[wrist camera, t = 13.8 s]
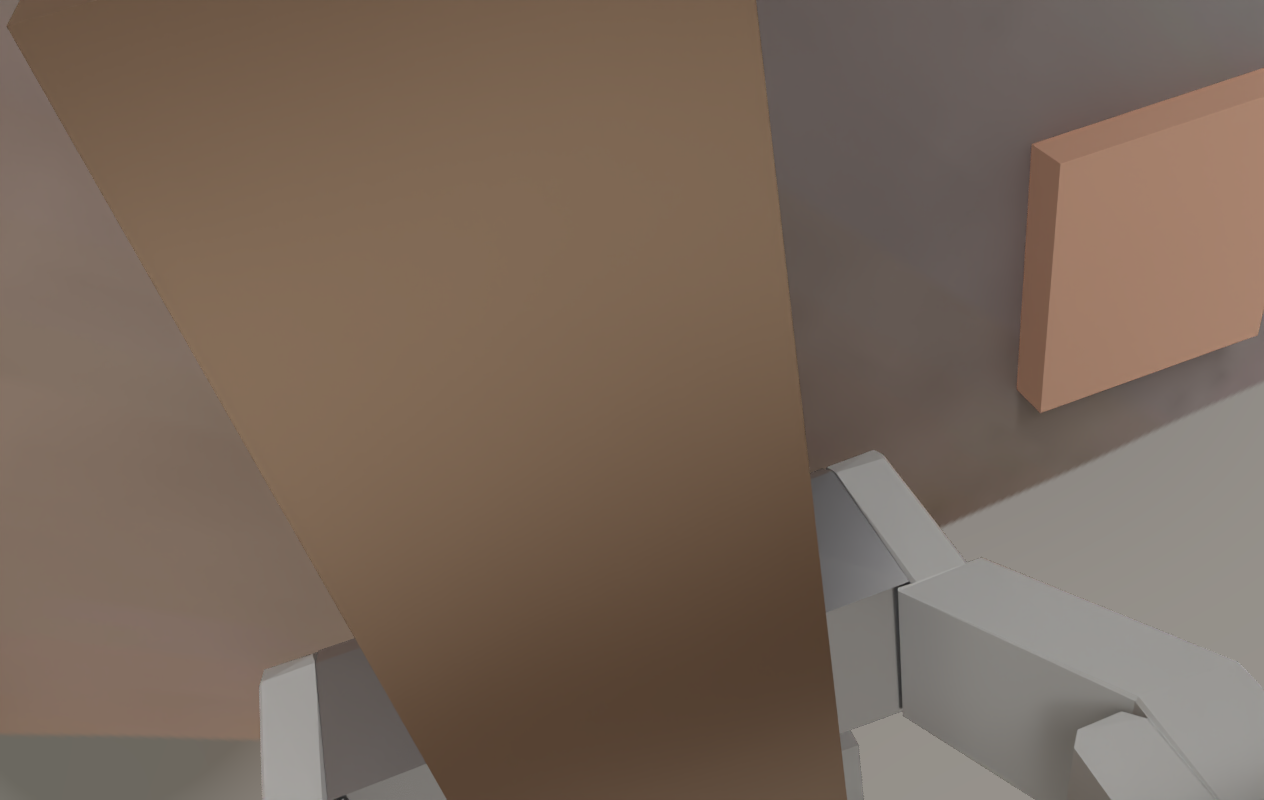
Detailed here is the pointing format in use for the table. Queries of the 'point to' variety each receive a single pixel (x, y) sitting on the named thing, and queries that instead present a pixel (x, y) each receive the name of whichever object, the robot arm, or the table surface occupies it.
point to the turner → (497, 359)
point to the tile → (1143, 242)
